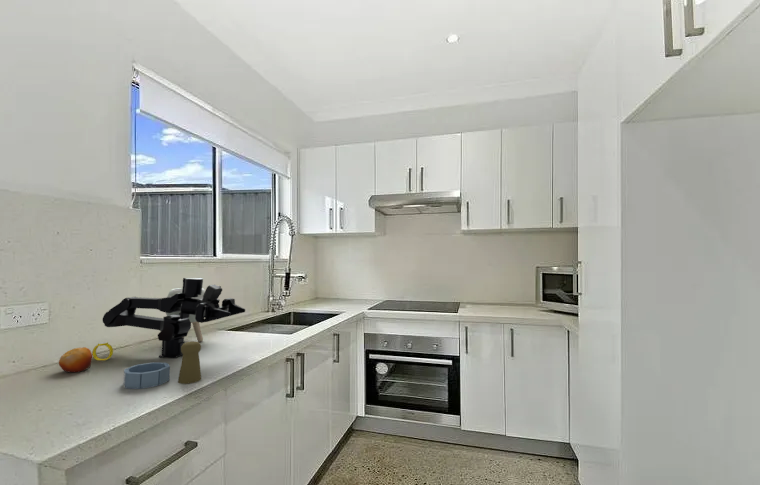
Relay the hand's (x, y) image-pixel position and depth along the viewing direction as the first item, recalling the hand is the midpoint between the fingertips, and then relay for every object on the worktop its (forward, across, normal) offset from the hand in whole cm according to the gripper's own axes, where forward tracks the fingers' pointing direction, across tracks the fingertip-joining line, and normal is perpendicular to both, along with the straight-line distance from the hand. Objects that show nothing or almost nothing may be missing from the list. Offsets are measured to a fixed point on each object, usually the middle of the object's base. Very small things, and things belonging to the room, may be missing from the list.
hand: (237, 312), depth 127 cm
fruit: (-40, -22, +20) cm, 50 cm away
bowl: (-11, -26, +18) cm, 33 cm away
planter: (-34, +19, +20) cm, 43 cm away
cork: (0, -22, +17) cm, 28 cm away
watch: (-43, -10, +20) cm, 49 cm away
